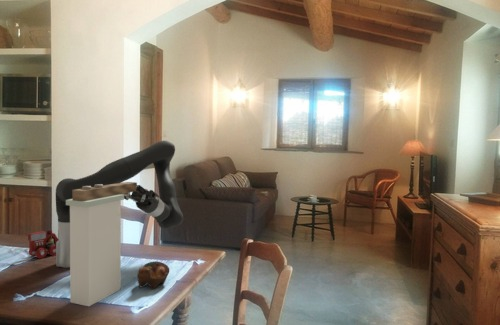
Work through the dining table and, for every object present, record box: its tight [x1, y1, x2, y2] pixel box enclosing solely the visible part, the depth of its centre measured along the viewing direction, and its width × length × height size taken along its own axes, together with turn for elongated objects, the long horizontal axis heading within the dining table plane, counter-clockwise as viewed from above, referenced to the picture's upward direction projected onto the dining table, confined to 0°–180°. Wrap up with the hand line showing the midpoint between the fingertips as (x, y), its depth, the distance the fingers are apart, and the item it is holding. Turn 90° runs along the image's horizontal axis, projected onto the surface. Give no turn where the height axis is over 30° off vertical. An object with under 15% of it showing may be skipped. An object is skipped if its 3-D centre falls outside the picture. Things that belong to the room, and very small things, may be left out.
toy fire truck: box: [27, 229, 58, 259], centre depth 159 cm, size 7×12×10 cm, turn 147°
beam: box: [72, 181, 138, 201], centre depth 123 cm, size 25×4×4 cm, turn 160°
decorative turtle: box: [137, 261, 170, 290], centre depth 129 cm, size 10×15×8 cm, turn 165°
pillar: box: [66, 195, 125, 307], centre depth 119 cm, size 16×8×31 cm, turn 160°
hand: (127, 186), depth 132 cm, fingers open, 8 cm apart
